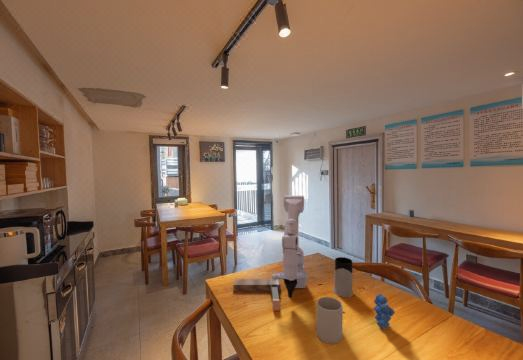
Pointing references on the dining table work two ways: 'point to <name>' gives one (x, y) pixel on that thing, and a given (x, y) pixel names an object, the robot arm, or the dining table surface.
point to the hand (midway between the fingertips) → (290, 296)
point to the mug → (329, 320)
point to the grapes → (382, 311)
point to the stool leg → (275, 298)
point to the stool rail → (255, 284)
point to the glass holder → (343, 277)
